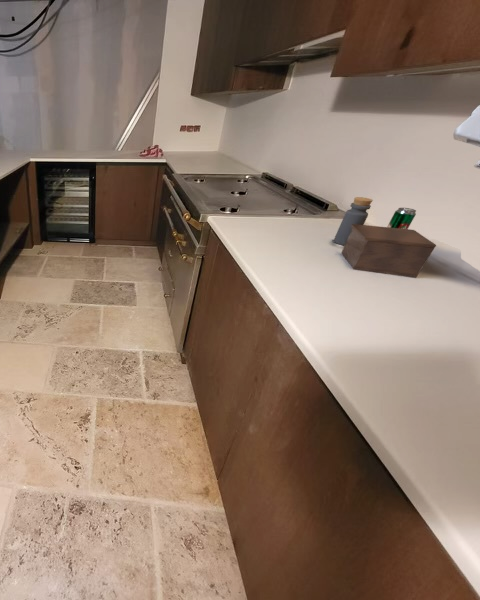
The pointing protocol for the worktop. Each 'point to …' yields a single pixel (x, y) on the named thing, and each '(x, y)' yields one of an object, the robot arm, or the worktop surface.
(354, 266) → the brown wooden box
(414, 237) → the lid
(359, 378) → the worktop surface
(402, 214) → the soda can
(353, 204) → the bottle
